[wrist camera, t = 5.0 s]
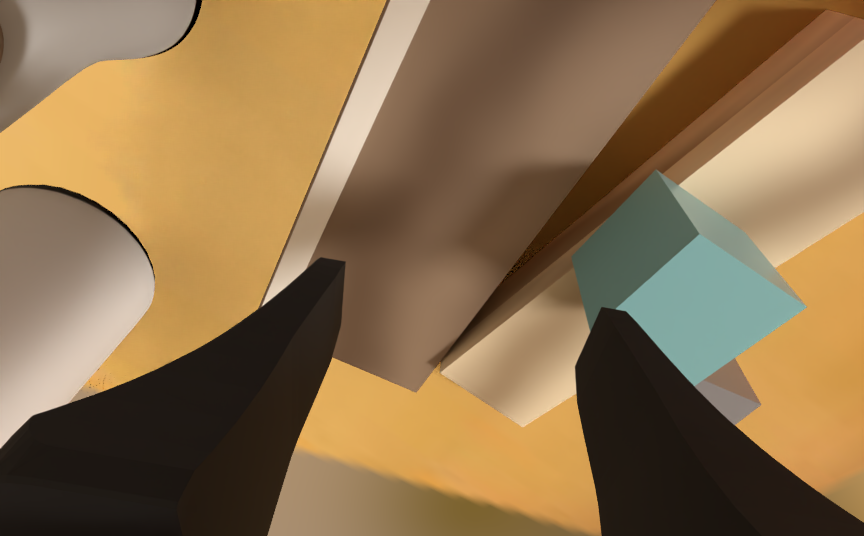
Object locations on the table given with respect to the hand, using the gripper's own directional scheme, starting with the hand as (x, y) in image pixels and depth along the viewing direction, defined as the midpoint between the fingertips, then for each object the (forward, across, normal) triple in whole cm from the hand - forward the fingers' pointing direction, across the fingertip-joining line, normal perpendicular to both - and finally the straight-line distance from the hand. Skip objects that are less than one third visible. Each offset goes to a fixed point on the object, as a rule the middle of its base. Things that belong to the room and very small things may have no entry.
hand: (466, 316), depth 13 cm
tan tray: (+9, -7, +2) cm, 11 cm away
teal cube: (+6, -6, 0) cm, 9 cm away
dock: (+8, +1, 0) cm, 9 cm away
